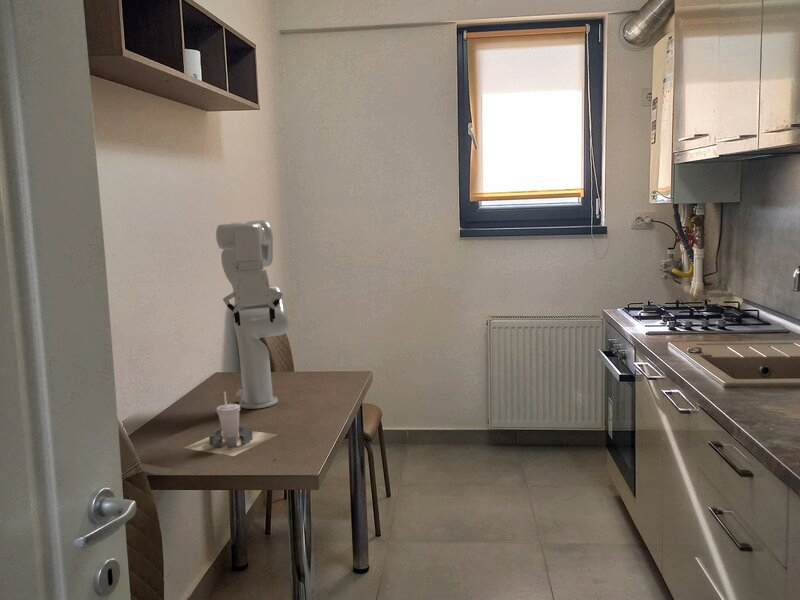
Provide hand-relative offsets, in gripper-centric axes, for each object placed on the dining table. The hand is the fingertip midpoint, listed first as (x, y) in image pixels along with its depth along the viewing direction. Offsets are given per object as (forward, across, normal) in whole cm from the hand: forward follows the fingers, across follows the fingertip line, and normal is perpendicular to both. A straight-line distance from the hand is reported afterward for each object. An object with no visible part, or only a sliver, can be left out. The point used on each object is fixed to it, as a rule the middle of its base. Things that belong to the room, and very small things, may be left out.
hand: (255, 323), depth 222 cm
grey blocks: (+29, -11, -19) cm, 36 cm away
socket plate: (+30, -11, -19) cm, 37 cm away
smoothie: (+29, -10, -19) cm, 36 cm away
